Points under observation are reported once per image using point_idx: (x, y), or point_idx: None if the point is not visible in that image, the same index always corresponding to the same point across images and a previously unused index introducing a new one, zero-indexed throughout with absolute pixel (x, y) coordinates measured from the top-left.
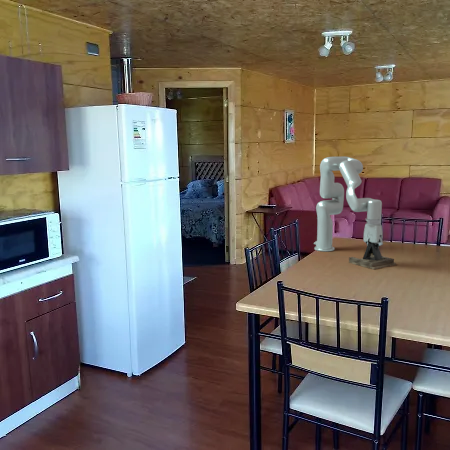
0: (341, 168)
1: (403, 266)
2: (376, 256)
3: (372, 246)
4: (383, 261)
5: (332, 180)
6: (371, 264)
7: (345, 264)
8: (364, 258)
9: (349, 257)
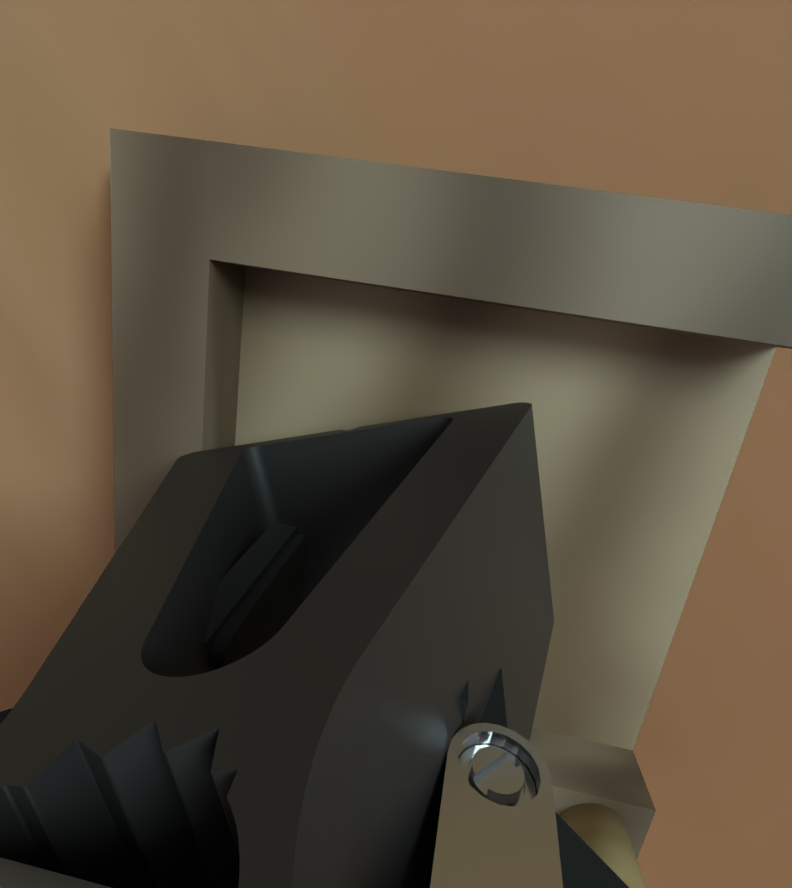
0: None
1: (27, 653)
2: (173, 477)
3: (121, 628)
4: (119, 500)
5: None
6: (128, 137)
7: (775, 33)
8: (488, 412)
9: None
